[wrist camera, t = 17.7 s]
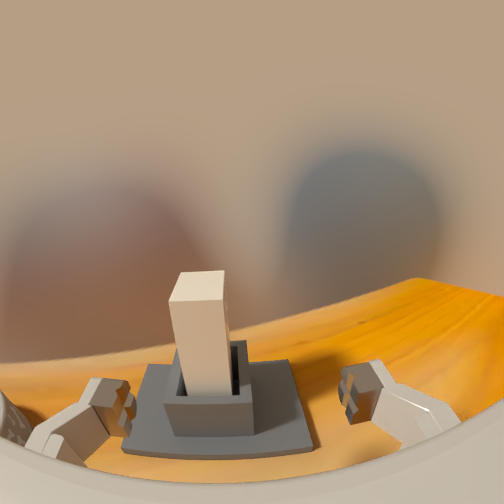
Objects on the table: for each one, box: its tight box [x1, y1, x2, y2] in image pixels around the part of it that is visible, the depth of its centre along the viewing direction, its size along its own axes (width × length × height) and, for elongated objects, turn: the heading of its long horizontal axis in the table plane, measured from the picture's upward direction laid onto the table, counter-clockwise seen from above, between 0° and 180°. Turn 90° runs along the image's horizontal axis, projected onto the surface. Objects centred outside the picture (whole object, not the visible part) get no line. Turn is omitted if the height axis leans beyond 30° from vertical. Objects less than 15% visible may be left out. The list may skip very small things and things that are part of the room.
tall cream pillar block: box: [169, 271, 234, 396], centre depth 25 cm, size 4×6×14 cm, turn 4°
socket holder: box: [121, 340, 313, 460], centre depth 27 cm, size 18×14×6 cm
